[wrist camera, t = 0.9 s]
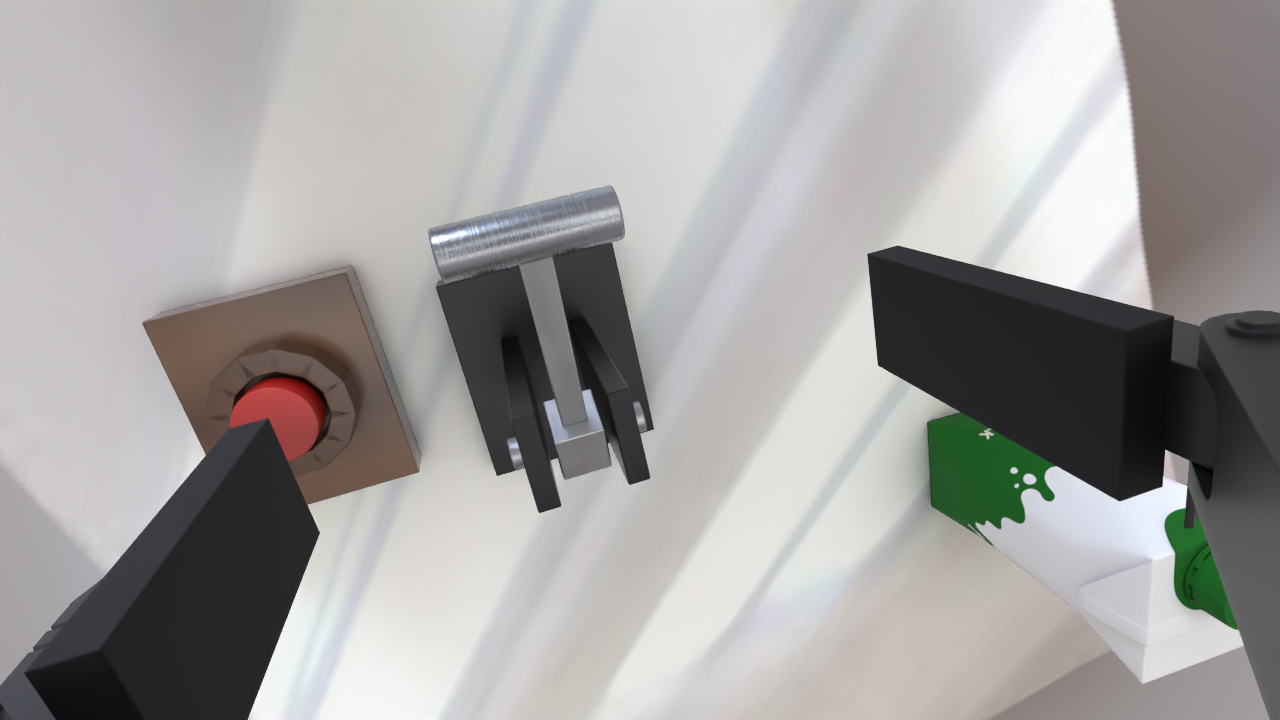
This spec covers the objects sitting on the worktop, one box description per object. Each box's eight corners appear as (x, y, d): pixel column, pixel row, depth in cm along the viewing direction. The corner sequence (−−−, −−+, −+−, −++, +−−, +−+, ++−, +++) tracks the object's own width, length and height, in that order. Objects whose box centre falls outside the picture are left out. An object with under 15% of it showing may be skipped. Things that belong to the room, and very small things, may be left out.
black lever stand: (437, 281, 39) (418, 351, 26) (607, 238, 40) (669, 284, 27) (496, 465, 43) (505, 604, 30) (648, 420, 44) (719, 534, 31)
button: (227, 388, 34) (215, 400, 33) (309, 367, 35) (301, 378, 33) (259, 457, 36) (249, 472, 34) (337, 435, 36) (330, 449, 35)
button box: (159, 312, 36) (123, 332, 32) (352, 265, 37) (339, 278, 34) (251, 505, 40) (228, 542, 36) (422, 456, 42) (416, 487, 38)
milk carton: (1022, 382, 50) (1344, 524, 32) (1021, 489, 53) (1315, 675, 35) (914, 413, 49) (1185, 581, 30) (920, 521, 52) (1169, 732, 33)
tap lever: (424, 212, 22) (431, 257, 20) (604, 169, 23) (625, 209, 21) (513, 451, 32) (522, 493, 30) (637, 414, 33) (652, 454, 31)
